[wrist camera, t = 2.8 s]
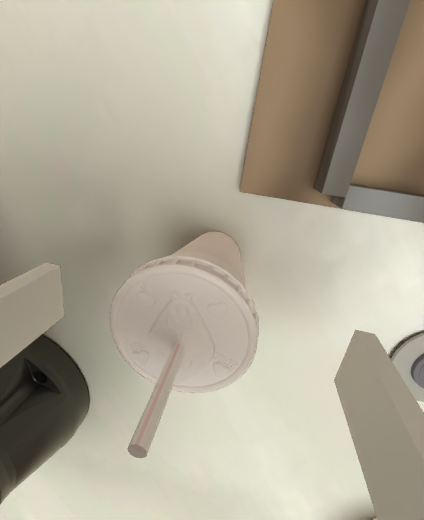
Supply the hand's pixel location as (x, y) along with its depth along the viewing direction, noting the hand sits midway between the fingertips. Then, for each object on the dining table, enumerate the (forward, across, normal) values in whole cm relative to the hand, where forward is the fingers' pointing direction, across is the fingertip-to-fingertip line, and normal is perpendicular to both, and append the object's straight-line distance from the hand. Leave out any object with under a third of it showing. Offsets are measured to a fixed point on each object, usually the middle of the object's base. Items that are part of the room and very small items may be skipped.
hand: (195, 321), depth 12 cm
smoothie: (+9, 0, 0) cm, 9 cm away
